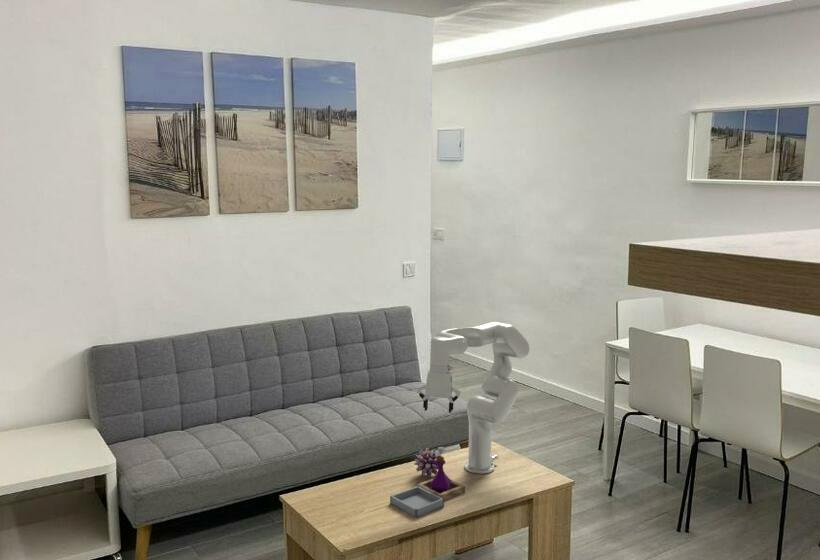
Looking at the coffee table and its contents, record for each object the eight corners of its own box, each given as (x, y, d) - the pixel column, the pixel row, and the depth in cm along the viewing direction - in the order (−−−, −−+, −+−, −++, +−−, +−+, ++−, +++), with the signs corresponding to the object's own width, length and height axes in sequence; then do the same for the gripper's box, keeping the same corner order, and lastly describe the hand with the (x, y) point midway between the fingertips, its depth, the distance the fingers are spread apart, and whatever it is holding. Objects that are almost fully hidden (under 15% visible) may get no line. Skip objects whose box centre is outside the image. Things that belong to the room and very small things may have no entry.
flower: (448, 475, 308) (448, 448, 306) (429, 484, 299) (429, 456, 297) (427, 467, 315) (427, 441, 313) (408, 476, 306) (408, 449, 305)
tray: (417, 493, 291) (417, 485, 290) (443, 506, 280) (444, 499, 279) (390, 503, 282) (390, 496, 281) (415, 517, 271) (415, 509, 270)
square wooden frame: (441, 481, 302) (441, 475, 302) (465, 492, 292) (465, 486, 292) (416, 490, 293) (416, 484, 293) (439, 502, 283) (439, 496, 283)
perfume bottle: (448, 496, 288) (449, 452, 286) (429, 494, 290) (430, 450, 287) (451, 488, 296) (451, 445, 293) (432, 486, 297) (433, 443, 294)
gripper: (462, 367, 292) (461, 409, 294) (419, 364, 295) (418, 406, 297) (460, 372, 284) (458, 415, 286) (415, 369, 288) (414, 411, 290)
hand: (438, 410), depth 292 cm, fingers open, 9 cm apart
